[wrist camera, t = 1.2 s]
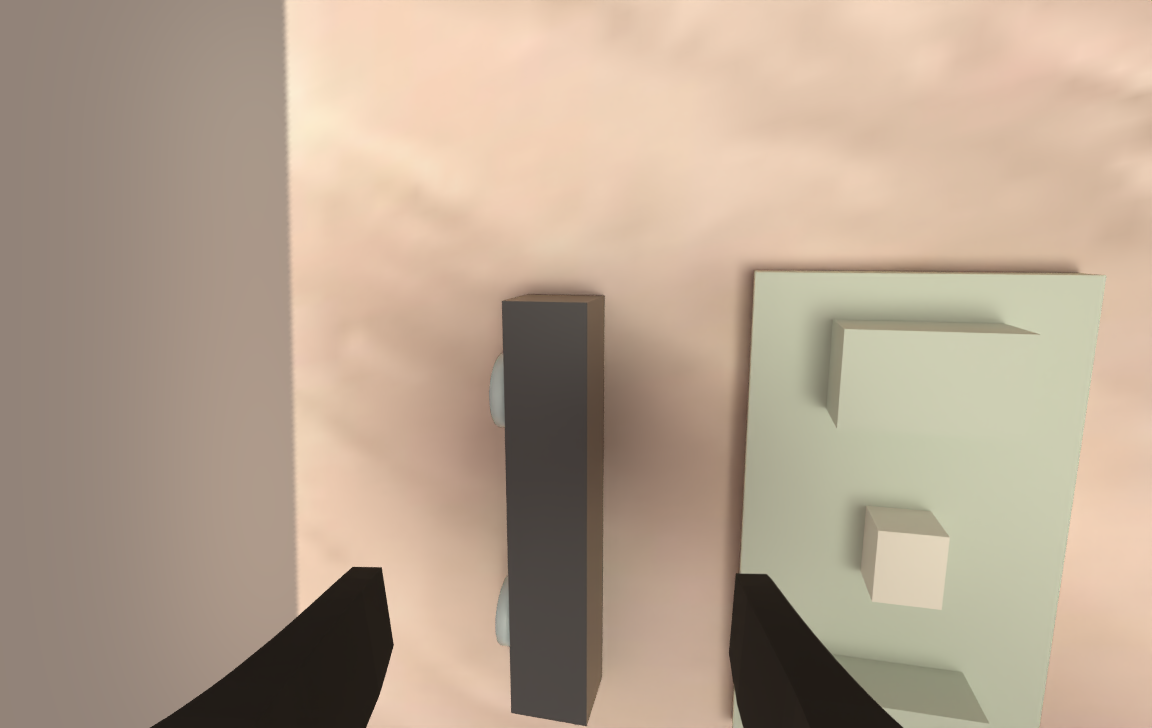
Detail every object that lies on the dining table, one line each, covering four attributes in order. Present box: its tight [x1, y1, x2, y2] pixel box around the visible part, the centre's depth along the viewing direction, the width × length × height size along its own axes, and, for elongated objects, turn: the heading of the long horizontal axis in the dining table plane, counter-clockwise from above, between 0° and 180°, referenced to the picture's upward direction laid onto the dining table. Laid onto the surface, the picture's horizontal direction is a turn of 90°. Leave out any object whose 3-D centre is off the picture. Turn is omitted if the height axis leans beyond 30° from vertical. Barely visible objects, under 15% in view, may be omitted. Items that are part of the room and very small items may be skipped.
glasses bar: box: [489, 294, 605, 726], centre depth 25 cm, size 16×4×3 cm, turn 0°
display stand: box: [732, 270, 1106, 728], centre depth 22 cm, size 18×10×4 cm, turn 0°
